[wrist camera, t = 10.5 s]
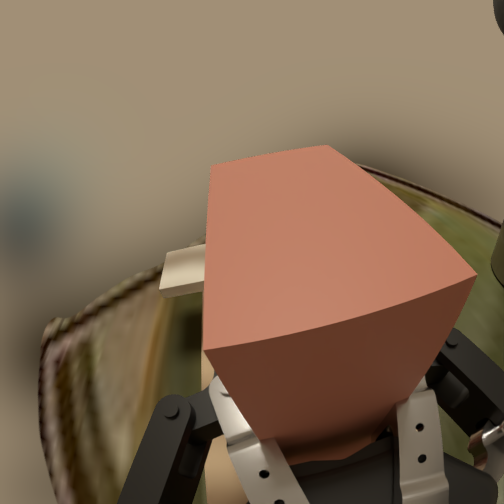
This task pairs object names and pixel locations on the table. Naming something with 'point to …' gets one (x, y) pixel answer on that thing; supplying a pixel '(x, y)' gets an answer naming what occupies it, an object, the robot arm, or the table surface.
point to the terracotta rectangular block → (321, 298)
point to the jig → (203, 372)
